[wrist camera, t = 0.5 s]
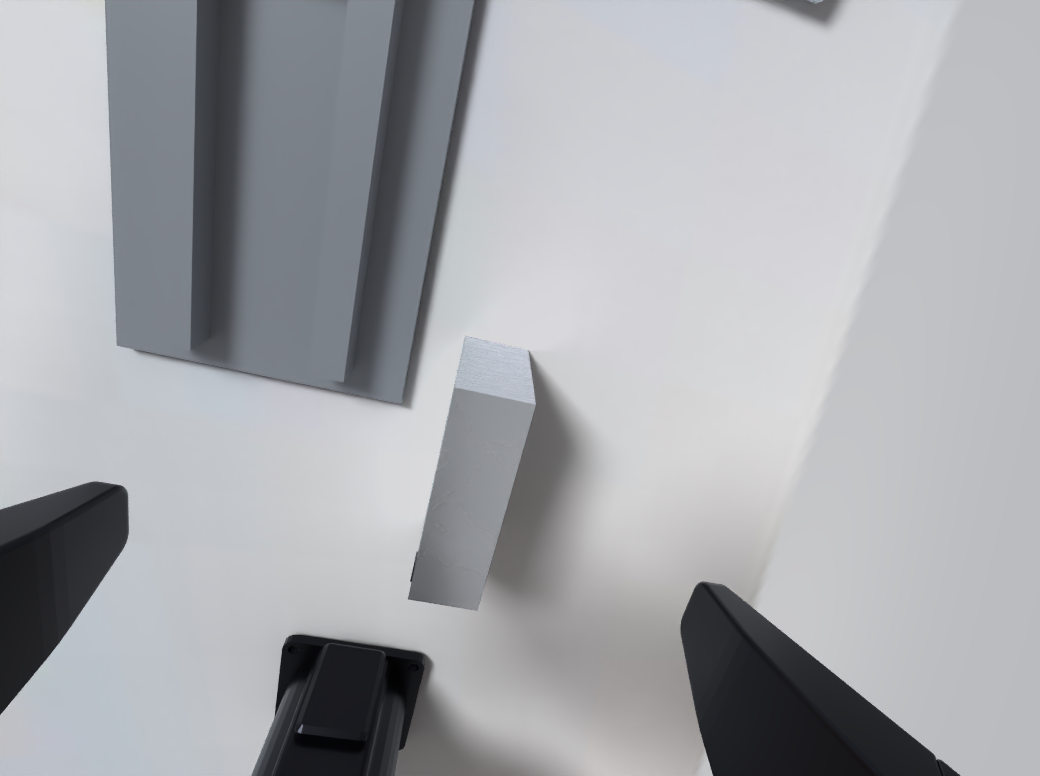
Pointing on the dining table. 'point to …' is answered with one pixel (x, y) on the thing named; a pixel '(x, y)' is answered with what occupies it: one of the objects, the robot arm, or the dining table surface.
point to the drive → (474, 473)
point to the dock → (280, 180)
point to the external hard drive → (815, 1)
